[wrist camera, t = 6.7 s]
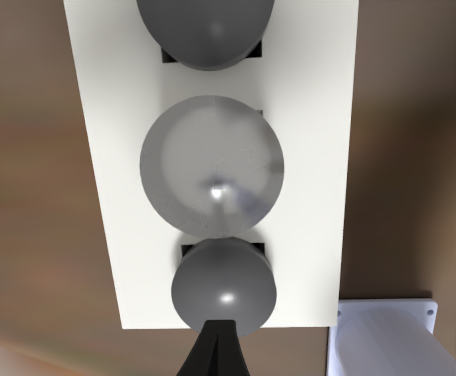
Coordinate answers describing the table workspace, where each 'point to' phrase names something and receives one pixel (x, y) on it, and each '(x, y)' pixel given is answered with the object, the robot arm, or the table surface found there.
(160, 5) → the knob outer
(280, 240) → the housing
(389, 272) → the table surface
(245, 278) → the knob inner
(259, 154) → the knob middle
